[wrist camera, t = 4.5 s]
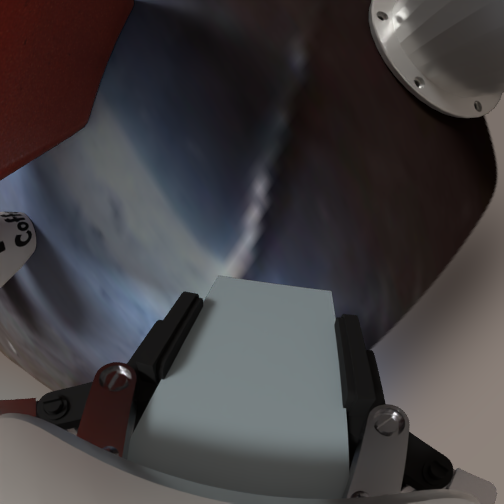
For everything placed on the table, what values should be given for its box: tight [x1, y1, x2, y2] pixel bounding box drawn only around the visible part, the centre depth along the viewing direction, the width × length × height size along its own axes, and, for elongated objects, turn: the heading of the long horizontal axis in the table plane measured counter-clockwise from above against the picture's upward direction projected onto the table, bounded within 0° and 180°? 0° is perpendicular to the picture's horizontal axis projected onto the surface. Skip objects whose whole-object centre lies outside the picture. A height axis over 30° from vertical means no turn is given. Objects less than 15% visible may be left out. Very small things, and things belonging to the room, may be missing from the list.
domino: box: [127, 276, 349, 499], centre depth 8 cm, size 5×2×9 cm, turn 85°
